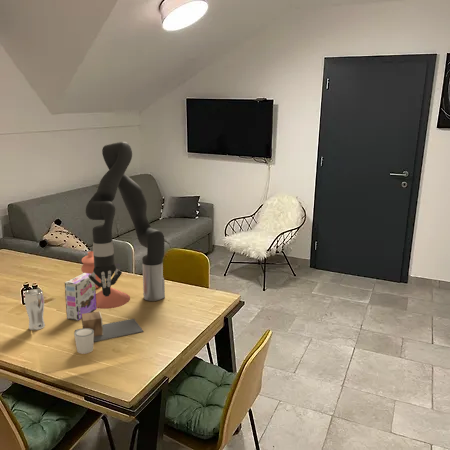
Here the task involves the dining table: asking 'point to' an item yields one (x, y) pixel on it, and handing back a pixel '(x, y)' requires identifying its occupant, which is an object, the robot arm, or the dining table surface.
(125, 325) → the placemat
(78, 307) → the candy box
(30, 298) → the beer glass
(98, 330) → the walnut cube
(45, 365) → the dining table surface
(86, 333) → the shot glass
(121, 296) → the ceramic vessels
